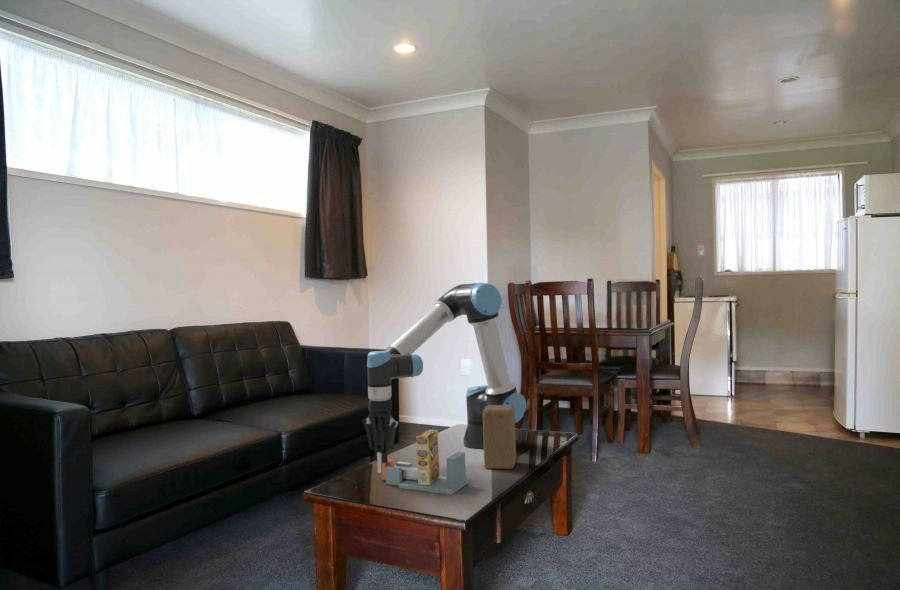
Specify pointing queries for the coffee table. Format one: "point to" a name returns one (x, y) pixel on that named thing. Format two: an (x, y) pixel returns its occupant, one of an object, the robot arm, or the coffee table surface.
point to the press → (441, 485)
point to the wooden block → (499, 437)
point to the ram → (406, 471)
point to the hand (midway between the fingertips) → (381, 471)
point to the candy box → (427, 457)
